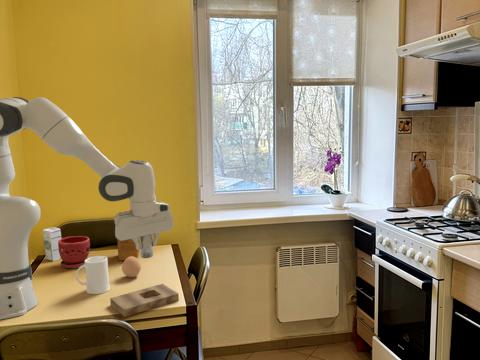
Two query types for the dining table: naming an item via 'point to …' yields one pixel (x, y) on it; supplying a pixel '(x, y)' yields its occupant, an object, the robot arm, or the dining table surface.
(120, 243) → the coffee package
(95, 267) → the mug
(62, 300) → the dining table surface
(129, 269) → the egg
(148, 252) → the peg
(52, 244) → the syrup box
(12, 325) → the dining table surface
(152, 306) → the plate
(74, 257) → the plant pot
